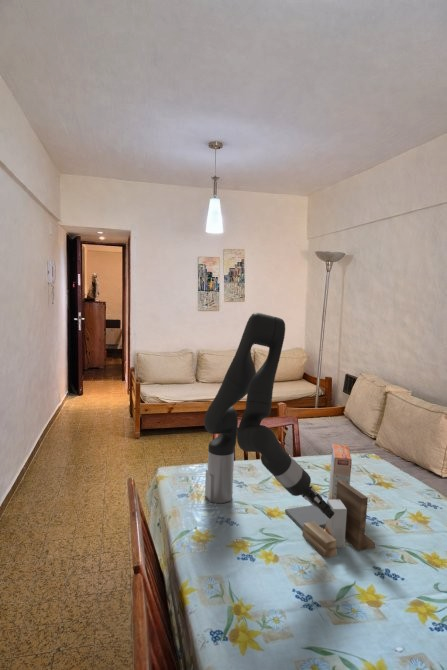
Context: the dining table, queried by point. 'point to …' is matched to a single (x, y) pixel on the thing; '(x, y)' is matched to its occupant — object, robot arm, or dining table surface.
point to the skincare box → (337, 522)
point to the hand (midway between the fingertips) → (323, 508)
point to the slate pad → (306, 515)
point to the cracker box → (339, 468)
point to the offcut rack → (354, 524)
